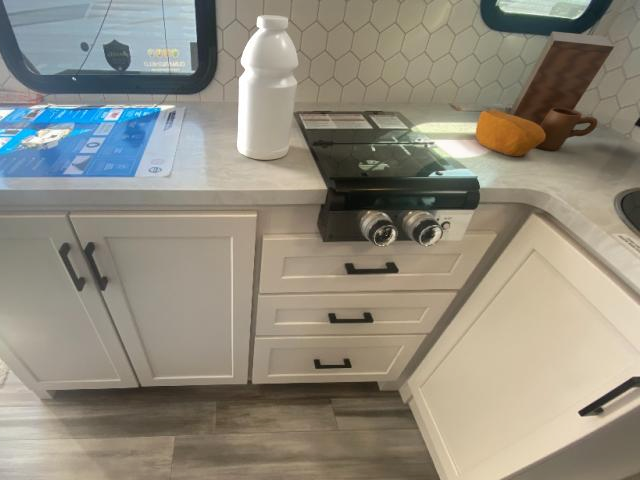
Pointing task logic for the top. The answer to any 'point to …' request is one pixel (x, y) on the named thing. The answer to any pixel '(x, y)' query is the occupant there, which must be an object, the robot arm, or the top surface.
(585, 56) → the wooden board
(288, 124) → the bottle
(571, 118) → the mug
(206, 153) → the top surface
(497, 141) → the bread
